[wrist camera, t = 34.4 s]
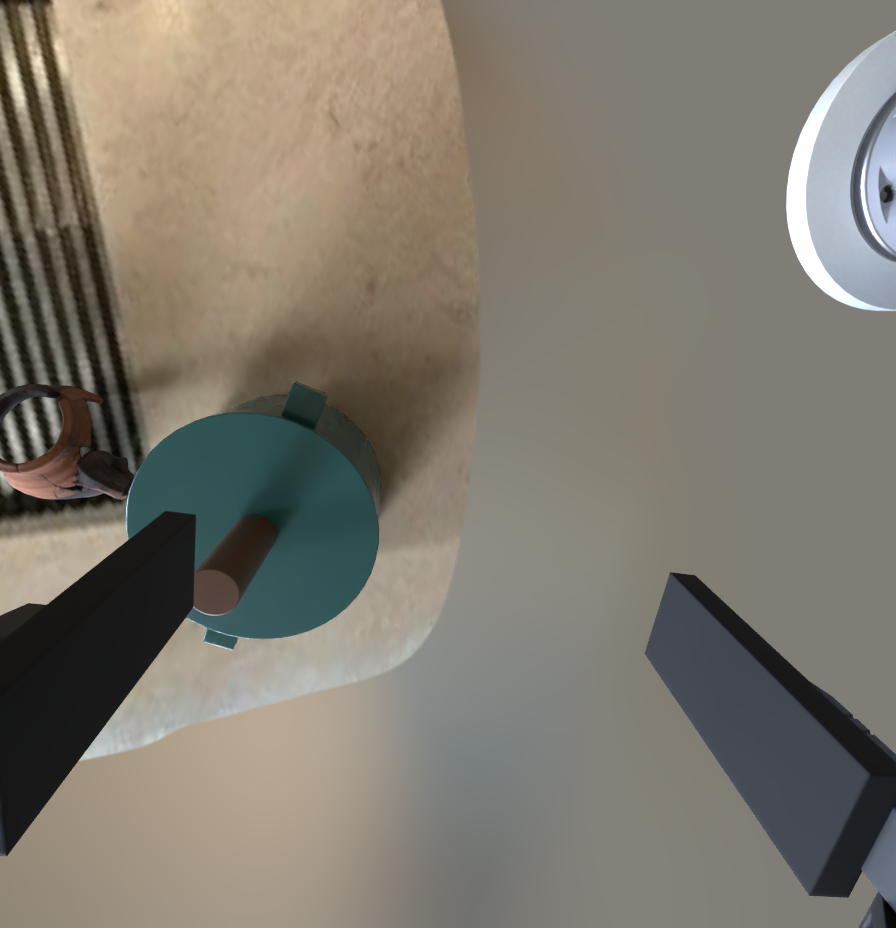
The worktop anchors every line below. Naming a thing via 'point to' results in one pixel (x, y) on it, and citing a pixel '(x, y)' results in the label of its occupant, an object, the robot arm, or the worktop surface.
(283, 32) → the worktop surface
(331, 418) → the pot
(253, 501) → the lid
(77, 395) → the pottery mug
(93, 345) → the worktop surface
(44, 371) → the worktop surface
